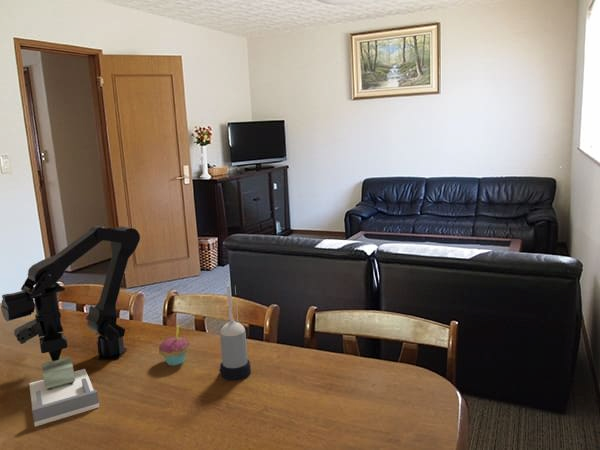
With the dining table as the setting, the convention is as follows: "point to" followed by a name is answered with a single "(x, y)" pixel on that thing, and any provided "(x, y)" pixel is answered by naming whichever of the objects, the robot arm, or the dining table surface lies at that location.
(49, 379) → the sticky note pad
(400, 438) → the dining table surface
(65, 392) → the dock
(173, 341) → the cupcake
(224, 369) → the humidifier
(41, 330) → the robot arm
